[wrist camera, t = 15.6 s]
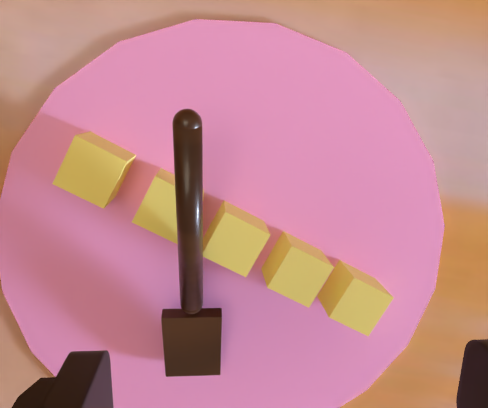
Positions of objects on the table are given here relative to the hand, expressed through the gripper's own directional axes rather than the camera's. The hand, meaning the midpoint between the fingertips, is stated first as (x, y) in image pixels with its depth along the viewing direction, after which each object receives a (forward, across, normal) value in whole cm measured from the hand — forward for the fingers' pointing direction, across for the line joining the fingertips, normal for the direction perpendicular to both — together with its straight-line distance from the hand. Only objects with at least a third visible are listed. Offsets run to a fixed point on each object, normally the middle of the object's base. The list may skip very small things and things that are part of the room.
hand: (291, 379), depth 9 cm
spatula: (+17, +3, +5) cm, 18 cm away
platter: (+20, 0, +5) cm, 21 cm away
